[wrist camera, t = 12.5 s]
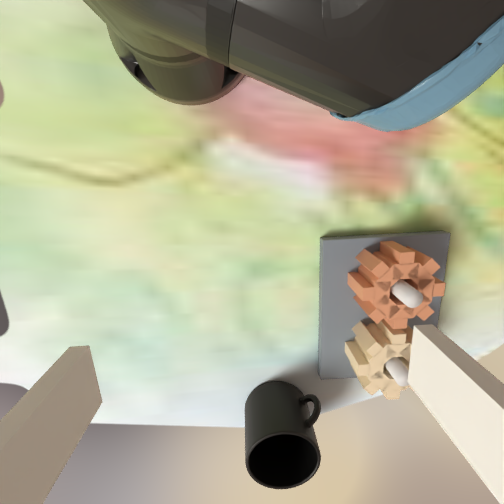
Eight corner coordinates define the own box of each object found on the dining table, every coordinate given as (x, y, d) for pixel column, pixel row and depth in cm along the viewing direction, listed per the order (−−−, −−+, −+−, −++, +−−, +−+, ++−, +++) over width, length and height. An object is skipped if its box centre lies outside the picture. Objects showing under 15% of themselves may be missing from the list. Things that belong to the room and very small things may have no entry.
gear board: (320, 237, 38) (341, 257, 30) (442, 230, 39) (496, 248, 31) (318, 372, 44) (335, 419, 36) (424, 365, 45) (465, 410, 36)
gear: (349, 243, 37) (365, 254, 32) (423, 238, 37) (450, 249, 33) (346, 311, 40) (360, 331, 35) (415, 306, 40) (439, 326, 35)
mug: (331, 395, 46) (352, 449, 37) (273, 439, 48) (280, 500, 39) (290, 358, 44) (302, 406, 35) (231, 406, 46) (229, 462, 37)
